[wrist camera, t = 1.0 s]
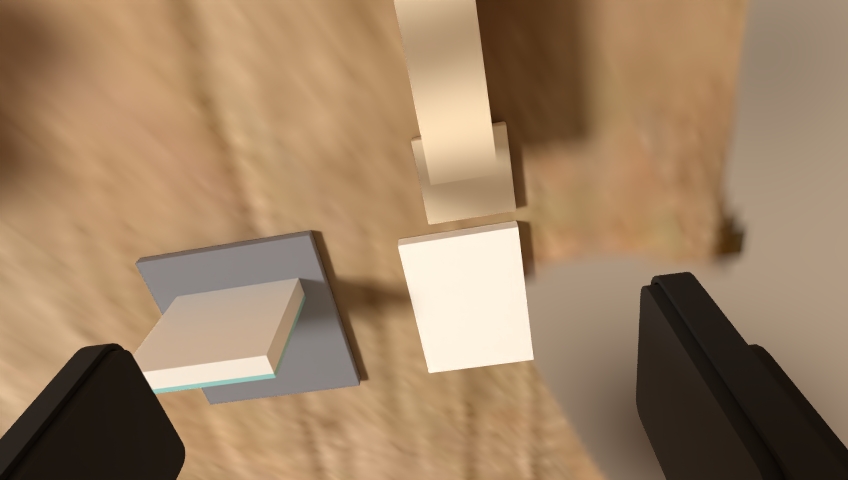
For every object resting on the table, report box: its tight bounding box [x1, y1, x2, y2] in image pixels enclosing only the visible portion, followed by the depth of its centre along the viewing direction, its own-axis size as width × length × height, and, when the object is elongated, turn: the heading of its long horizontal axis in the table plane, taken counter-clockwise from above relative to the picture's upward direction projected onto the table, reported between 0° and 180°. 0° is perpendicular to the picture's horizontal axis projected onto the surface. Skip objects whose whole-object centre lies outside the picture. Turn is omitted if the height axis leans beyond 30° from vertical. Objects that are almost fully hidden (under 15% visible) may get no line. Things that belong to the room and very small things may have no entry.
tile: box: [133, 278, 306, 394], centre depth 30 cm, size 2×8×7 cm, turn 101°
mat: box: [135, 231, 360, 405], centre depth 34 cm, size 12×11×1 cm
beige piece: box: [394, 0, 516, 225], centre depth 24 cm, size 16×5×6 cm, turn 11°
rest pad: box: [398, 221, 534, 373], centre depth 33 cm, size 10×7×1 cm
